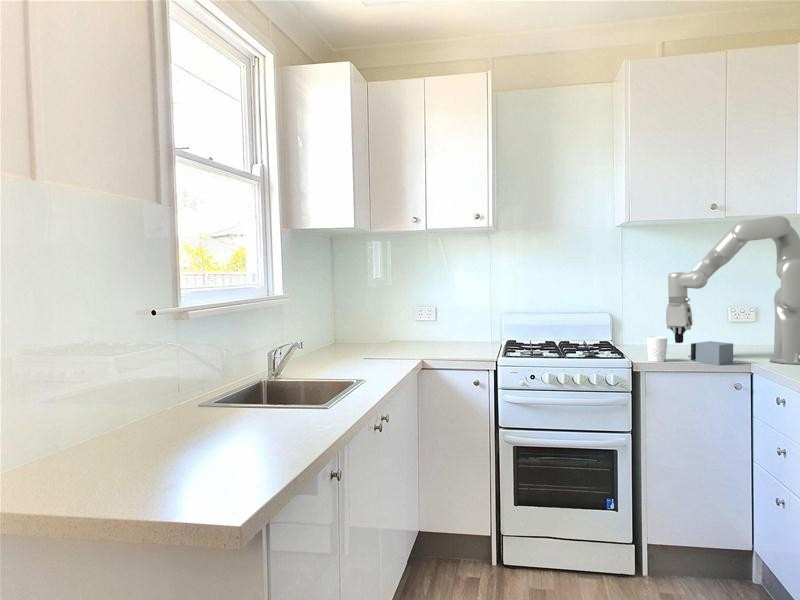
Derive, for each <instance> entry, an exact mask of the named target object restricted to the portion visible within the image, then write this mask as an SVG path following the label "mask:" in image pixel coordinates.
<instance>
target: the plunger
mask: <svg viewBox="0 0 800 600" xmlns="http://www.w3.org/2000/svg"><path fill="white" fill-rule="evenodd" d="M696 343H697V342H692V343H690V355H691V357H690V361H696Z"/></svg>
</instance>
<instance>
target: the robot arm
mask: <svg viewBox="0 0 800 600" xmlns="http://www.w3.org/2000/svg"><path fill="white" fill-rule="evenodd" d="M767 239H771V240H772V241H773V242H774V245H775V248H776V250H775V251H776V269H775V270H776V271H775V272H776V276H777V277H778V279H780V287H779V288H778V289H777V290H776V291H775V293H774V296H773V302H774V303H773V305H774V334H773V335H774V341H773V342H774V343H773V344H774V347H773V357H770V358H769V362H772V363H776V364H785V365H787V364H788V365H789V364H790V365H800V236H799V234H798V232H797V231H796V230H795V228H794V227H793V226H791V223H790V221H789V219H788V218H787V217H785V216H781V215H775V216H769V217H761V218H755V219H748V220H741V221H739V222H737V223H735V224H734V225H733V226H732V227H731V228H730V229H729V230H728V231H727V232H726V233H725V234H724V235H723V236H722V238H721V239H720V240H719V241H717V243H716V244H715V245H714V246H713V247H712V248H711V249H710V250H709V251H708V253H707V254H706V255H705V256H704V257H703V258H702V259H701V260H700V261H699V262H698V264H697V265H696V266H695V267H694V268H693V269H692V270H691V271H690V272H685V271H684V272H681V271H680V272H671V273H668V275H667V284H668V285H667V288H668V290H667V291H668V292H667V293H668V303H667V306H666V310H665V324H666V329H668V330H671V331H672V332H673V335H674V342H675V344H682V343H684V334H685V333H686V331H690V330H692V326H693V313H692V309H691V304H690V303H688V302H691V298H690V297H688V289H696V290H699V289H702V288H704V287H706V286H707V284H708V281H709V279H710V278H711V277H712V276H713V275H714V274H715V273H716V272H717V271H718V270H719V269H720V268H722V267H723V266H725V265H726V264H727V263H729V262H730V261H731V260H732V259H733V258H734V257H735V256H736V255H737V254H738V253H739V252H740V251H741V250H742V249H743V248H744V246H746V245H747V243H748V242H751V241H752V242H753V241H760V240H767Z"/></svg>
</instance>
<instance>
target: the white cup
mask: <svg viewBox="0 0 800 600" xmlns="http://www.w3.org/2000/svg"><path fill="white" fill-rule="evenodd" d="M646 341H647V343H646V346H647V348H646V349H647V356H648V357H647V358H648V362H654V363H663V362H664V363H665V362H666V360H667V348H668V337H666V336H660V335H659V336H656V335H655V336H654V335H653V336H650V335H649V336H647V337H646Z"/></svg>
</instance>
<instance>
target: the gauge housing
mask: <svg viewBox="0 0 800 600" xmlns="http://www.w3.org/2000/svg"><path fill="white" fill-rule="evenodd" d="M695 343H696V360H695V363H701V364H707V365H708V364H709V365H713V366H714V365H715V366H722V365H729V364H733V363H734V343H731V342H720V341H713V340H712V341H711V340H708V341H701V342H695ZM687 356H691V354H687Z"/></svg>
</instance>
